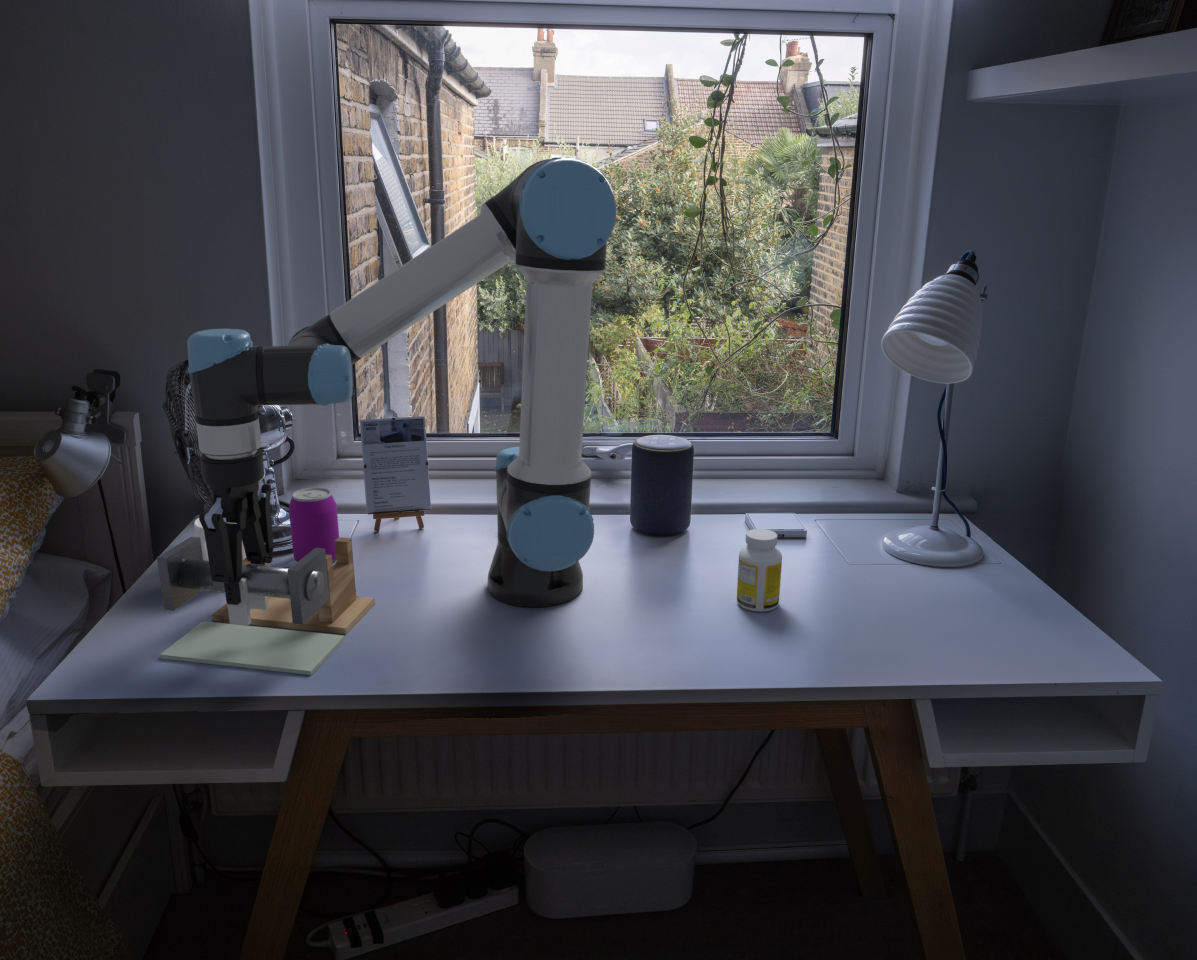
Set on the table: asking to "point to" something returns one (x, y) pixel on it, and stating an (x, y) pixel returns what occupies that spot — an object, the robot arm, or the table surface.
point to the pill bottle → (759, 571)
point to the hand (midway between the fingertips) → (249, 615)
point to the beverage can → (313, 522)
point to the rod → (191, 575)
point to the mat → (254, 647)
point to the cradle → (333, 614)
